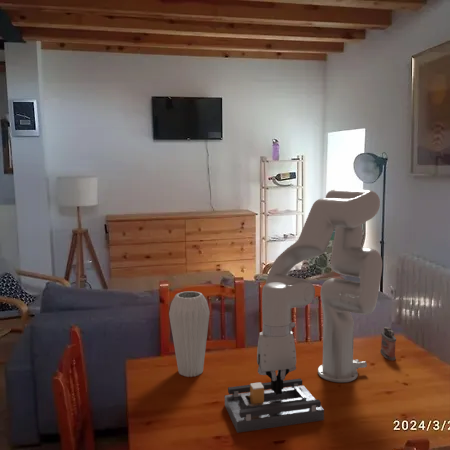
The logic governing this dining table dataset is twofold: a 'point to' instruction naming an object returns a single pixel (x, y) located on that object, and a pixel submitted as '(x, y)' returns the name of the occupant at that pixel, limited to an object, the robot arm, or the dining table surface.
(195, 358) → the vase
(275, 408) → the pair of grey rails
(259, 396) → the block
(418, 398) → the dining table surface
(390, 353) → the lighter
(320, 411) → the panel
